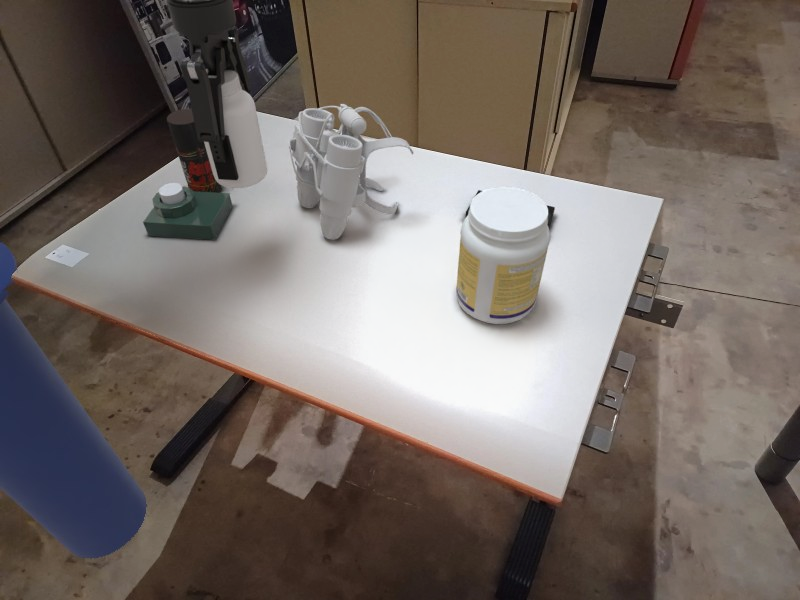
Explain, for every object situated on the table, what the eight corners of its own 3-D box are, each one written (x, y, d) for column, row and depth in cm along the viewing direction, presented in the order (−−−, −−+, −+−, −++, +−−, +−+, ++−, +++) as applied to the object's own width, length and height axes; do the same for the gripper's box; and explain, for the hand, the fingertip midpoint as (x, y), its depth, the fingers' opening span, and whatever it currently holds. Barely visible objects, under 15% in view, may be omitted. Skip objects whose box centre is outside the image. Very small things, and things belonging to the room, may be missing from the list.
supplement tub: (543, 284, 87) (565, 193, 75) (523, 337, 79) (544, 245, 67) (469, 264, 90) (478, 175, 79) (443, 313, 83) (450, 222, 71)
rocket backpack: (410, 235, 101) (436, 131, 89) (315, 247, 92) (331, 132, 80) (367, 189, 112) (385, 90, 100) (278, 195, 103) (287, 87, 91)
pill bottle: (205, 188, 80) (176, 87, 70) (226, 159, 86) (201, 62, 76) (258, 192, 80) (236, 90, 69) (275, 163, 85) (257, 65, 75)
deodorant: (183, 194, 106) (159, 120, 95) (203, 178, 109) (181, 106, 99) (209, 201, 104) (187, 127, 93) (228, 185, 108) (208, 112, 97)
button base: (148, 236, 96) (138, 212, 93) (171, 203, 104) (162, 180, 100) (214, 240, 96) (207, 216, 92) (233, 206, 103) (226, 183, 99)
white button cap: (158, 205, 95) (154, 195, 94) (167, 192, 98) (164, 182, 97) (180, 206, 95) (177, 196, 93) (189, 193, 98) (186, 183, 96)
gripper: (196, 23, 58) (240, 204, 74) (254, -31, 72) (281, 130, 88) (127, 21, 58) (186, 201, 74) (199, -33, 73) (236, 127, 89)
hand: (238, 162), depth 81 cm, fingers closed on pill bottle, 8 cm apart
